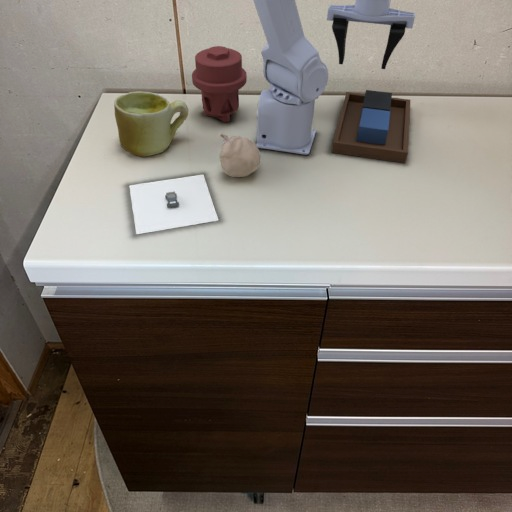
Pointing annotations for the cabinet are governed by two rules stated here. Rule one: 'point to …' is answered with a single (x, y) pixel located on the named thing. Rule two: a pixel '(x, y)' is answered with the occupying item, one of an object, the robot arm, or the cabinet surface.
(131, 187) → the white paper sheet
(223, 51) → the mechanical component
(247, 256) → the cabinet surface
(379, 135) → the blue block
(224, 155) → the garlic bulb
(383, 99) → the charcoal block
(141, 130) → the mug
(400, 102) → the tray
